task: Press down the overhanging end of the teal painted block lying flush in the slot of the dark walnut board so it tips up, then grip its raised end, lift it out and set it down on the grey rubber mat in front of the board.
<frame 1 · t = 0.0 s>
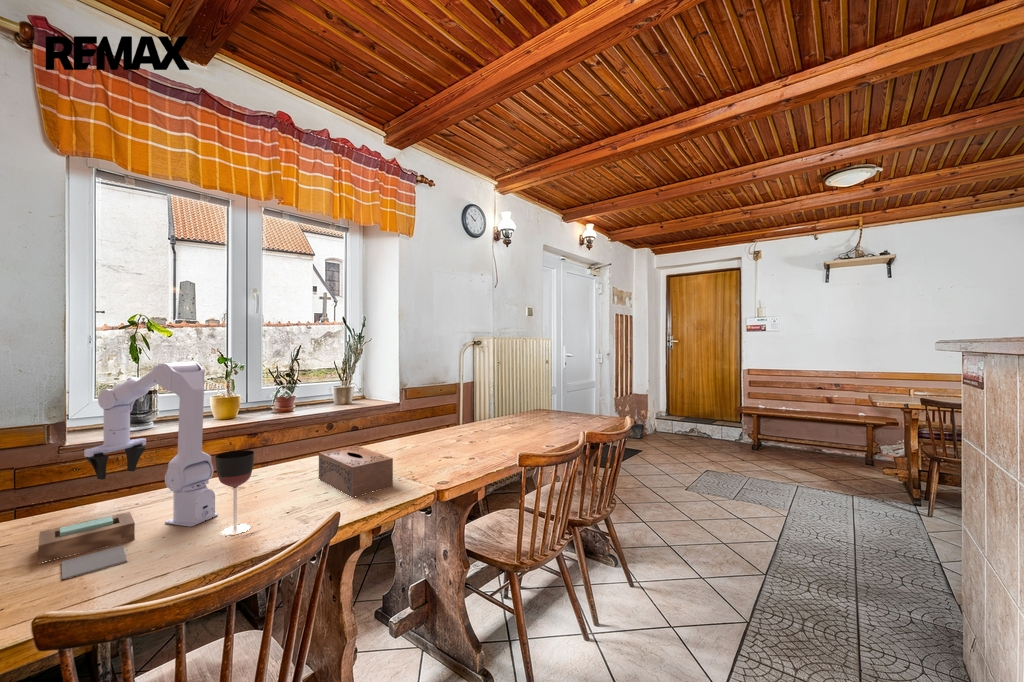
hand: (116, 474, 124), 10 cm above the table, tool pointing down, fingers open, 7 cm apart
tissue box cover: (354, 484, 147), on the table
walnut board: (91, 543, 103), on the table
wineglass: (235, 530, 111), on the table
teal block: (87, 532, 102), point 3 cm above the table, touching walnut board
grey mat: (94, 562, 94), on the table
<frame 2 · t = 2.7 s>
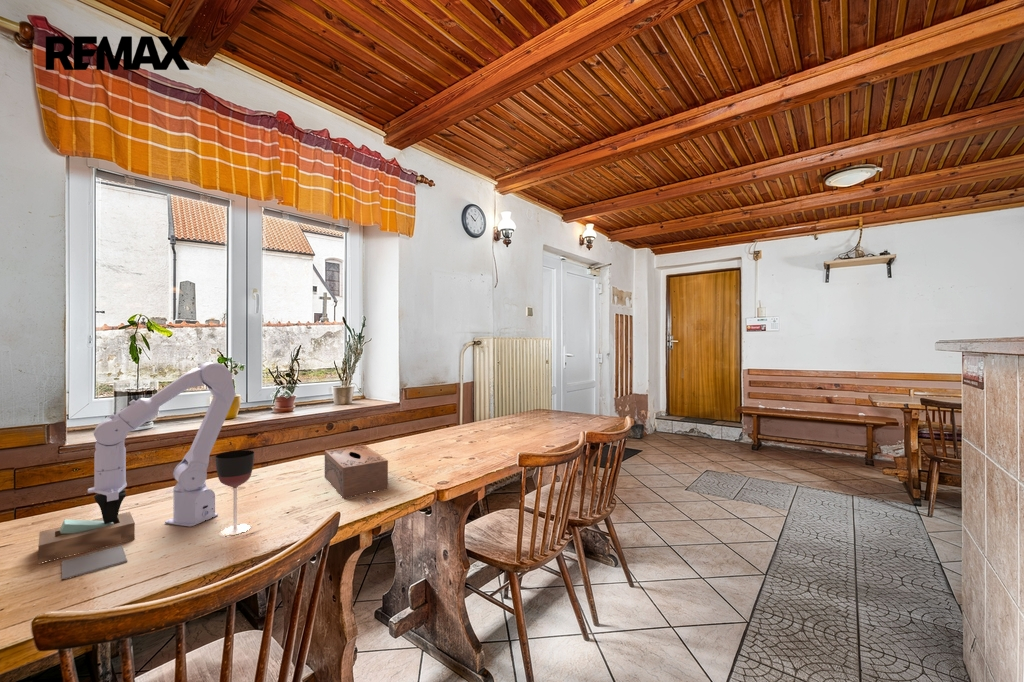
hand: (110, 522, 105), 4 cm above the table, tool pointing down, fingers closed, pressing on teal block
teal block: (85, 531, 102), point 3 cm above the table, tilted 20°, touching gripper, walnut board
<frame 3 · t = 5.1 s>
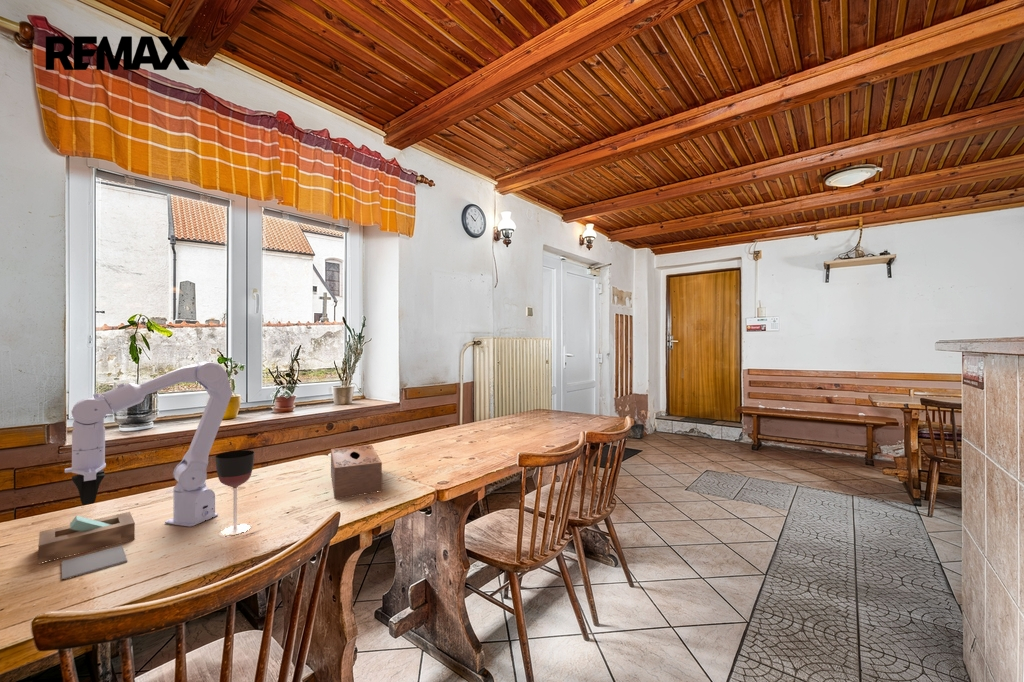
hand: (88, 503, 103), 10 cm above the table, tool pointing down, fingers closed
teal block: (92, 531, 103), point 3 cm above the table, tilted 34°, touching walnut board
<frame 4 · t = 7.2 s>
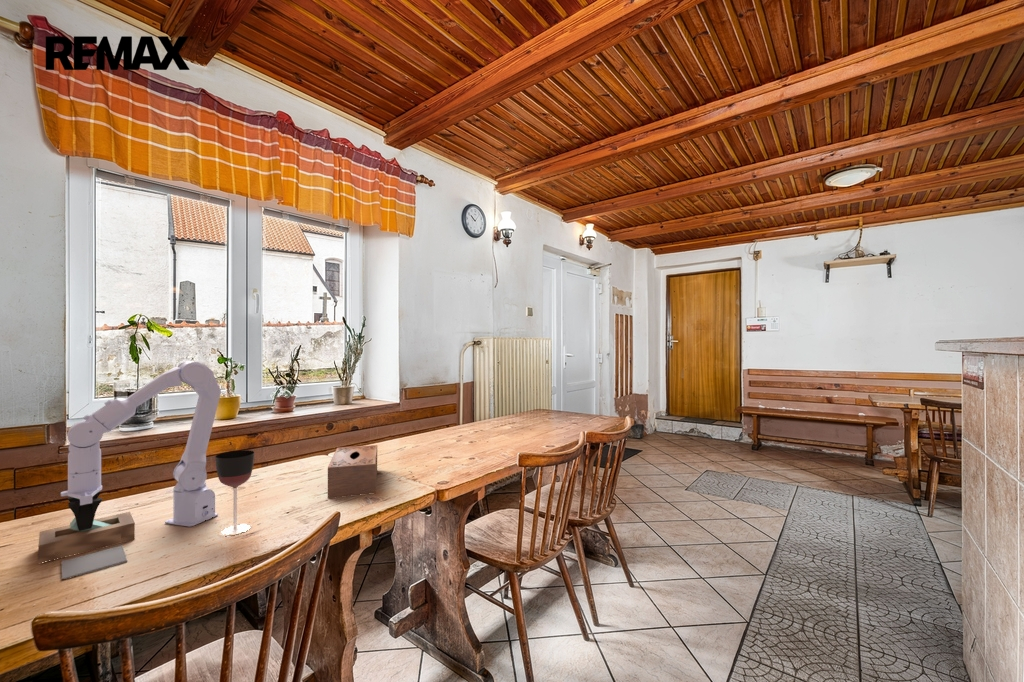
hand: (84, 526, 102), 5 cm above the table, tool pointing down, fingers closed on teal block, 4 cm apart
teal block: (92, 531, 103), point 3 cm above the table, tilted 34°, touching gripper, walnut board
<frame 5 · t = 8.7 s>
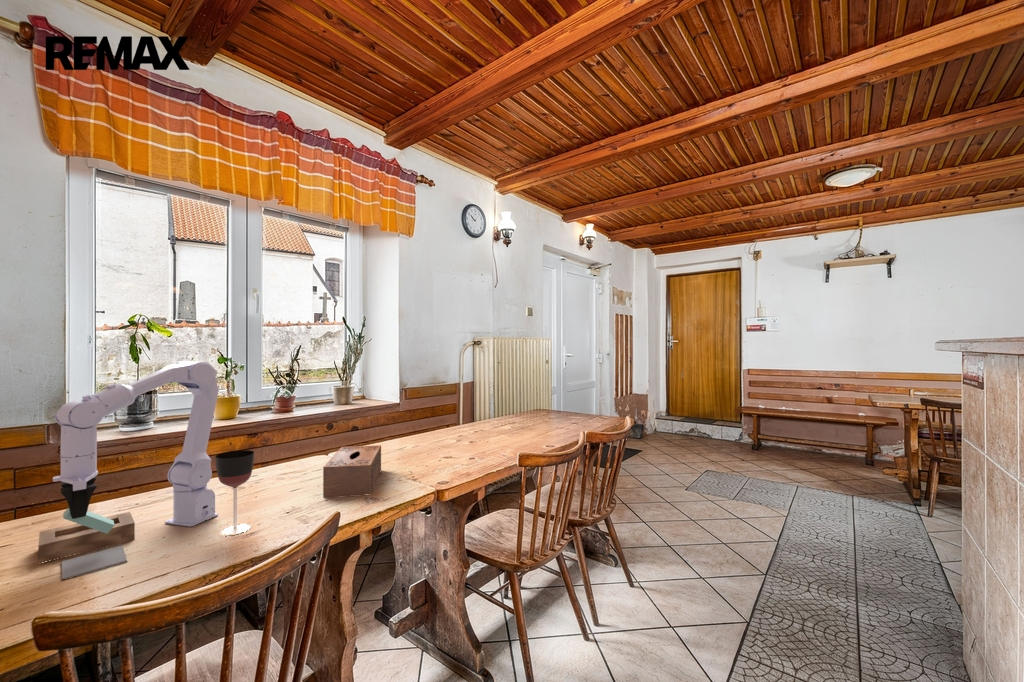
hand: (78, 514, 95), 10 cm above the table, tool pointing down, fingers closed on teal block, 4 cm apart
teal block: (85, 523, 96), point 8 cm above the table, tilted 39°, touching gripper
when the fingers open (5 cm above the table, at t = 10.4 s): teal block drops 3 cm, resting on grey mat.
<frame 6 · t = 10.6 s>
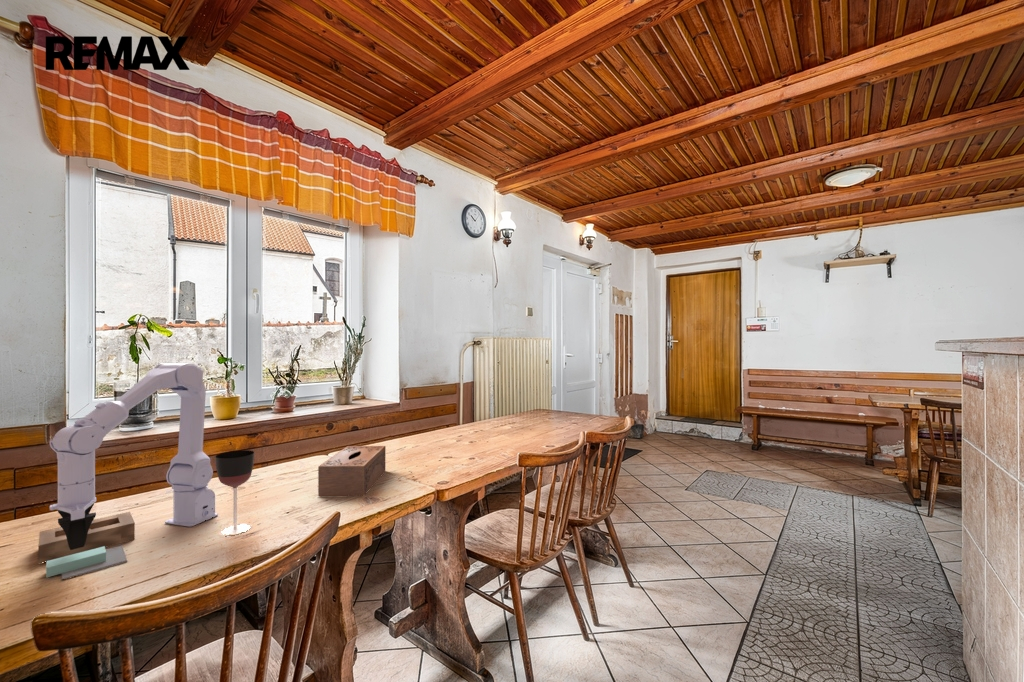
hand: (76, 542, 92), 5 cm above the table, tool pointing down, fingers open, 6 cm apart
teal block: (76, 565, 92), resting on grey mat
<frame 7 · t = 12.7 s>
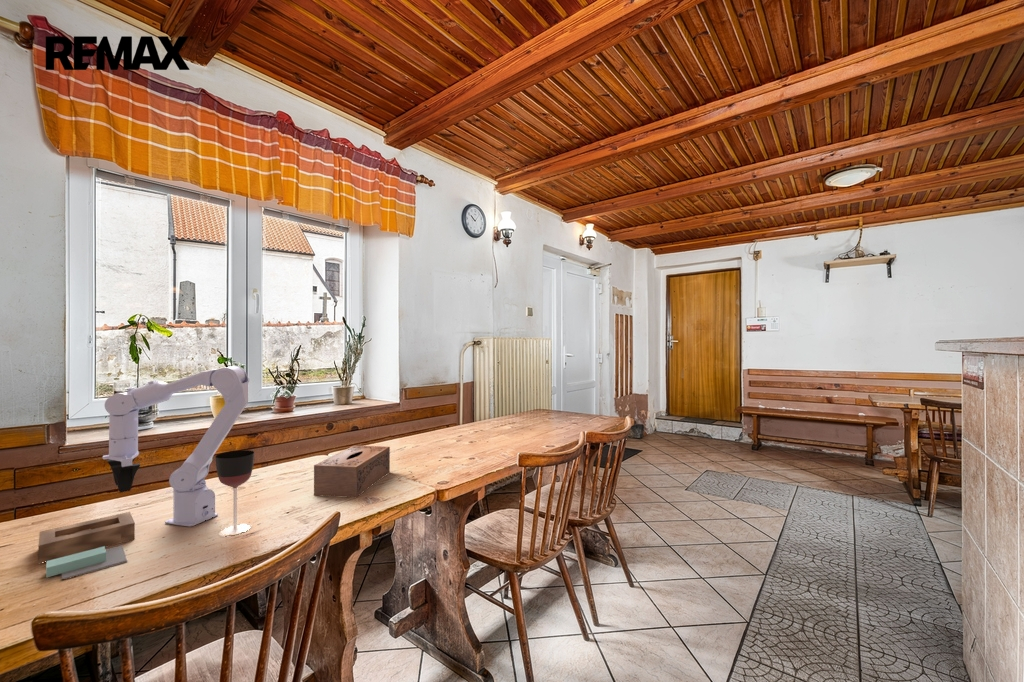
hand: (123, 487, 112), 10 cm above the table, tool pointing down, fingers open, 7 cm apart
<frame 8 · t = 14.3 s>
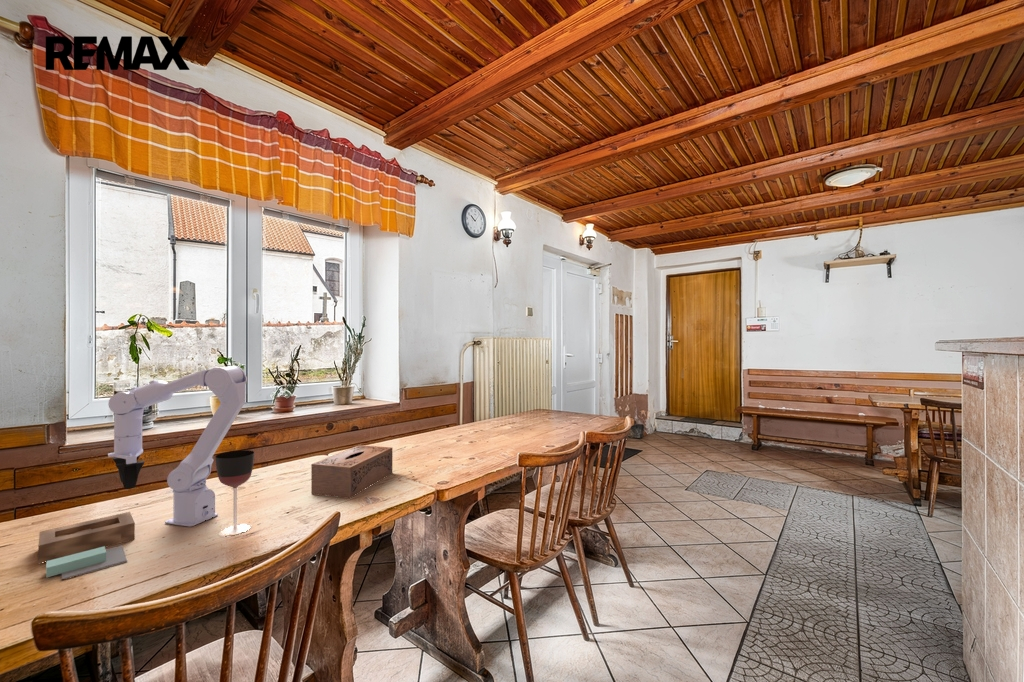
hand: (128, 484, 115), 10 cm above the table, tool pointing down, fingers open, 7 cm apart
at the end: teal block inside the target area on the grey mat (2.7 cm from its centre), point 0.4 cm above the grey mat's base; teal block moved 13.5 cm from its start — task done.
